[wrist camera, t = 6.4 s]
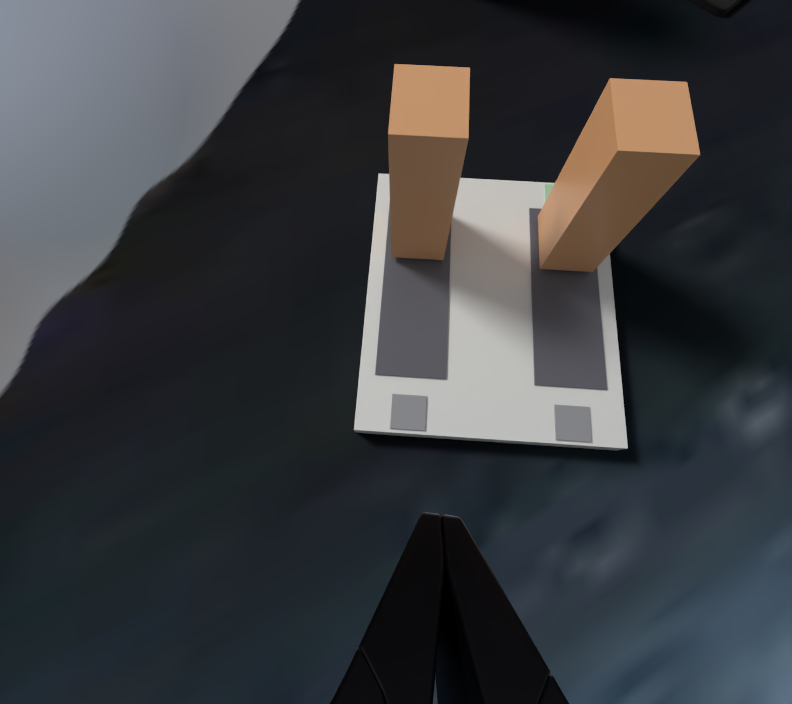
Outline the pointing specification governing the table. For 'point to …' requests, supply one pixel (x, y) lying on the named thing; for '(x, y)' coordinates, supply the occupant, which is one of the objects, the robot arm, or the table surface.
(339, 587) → the table surface
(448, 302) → the switch bank
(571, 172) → the tab
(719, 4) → the cell phone
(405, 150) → the tab
